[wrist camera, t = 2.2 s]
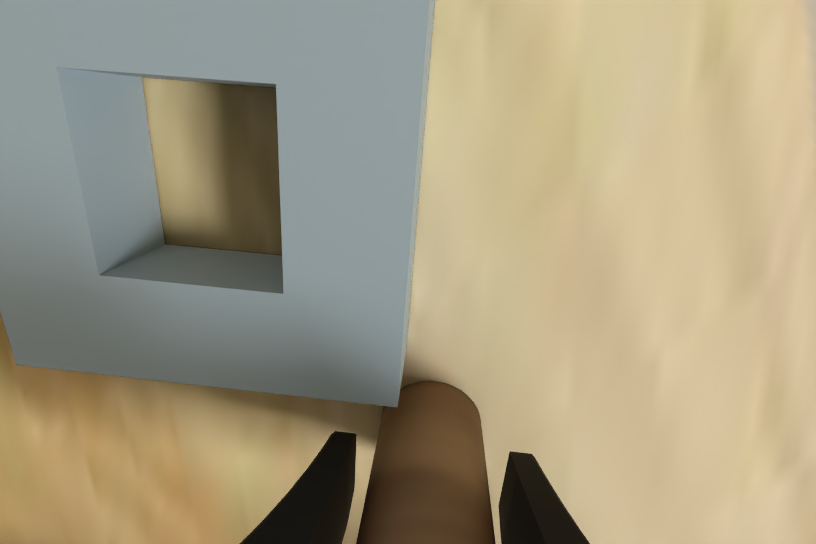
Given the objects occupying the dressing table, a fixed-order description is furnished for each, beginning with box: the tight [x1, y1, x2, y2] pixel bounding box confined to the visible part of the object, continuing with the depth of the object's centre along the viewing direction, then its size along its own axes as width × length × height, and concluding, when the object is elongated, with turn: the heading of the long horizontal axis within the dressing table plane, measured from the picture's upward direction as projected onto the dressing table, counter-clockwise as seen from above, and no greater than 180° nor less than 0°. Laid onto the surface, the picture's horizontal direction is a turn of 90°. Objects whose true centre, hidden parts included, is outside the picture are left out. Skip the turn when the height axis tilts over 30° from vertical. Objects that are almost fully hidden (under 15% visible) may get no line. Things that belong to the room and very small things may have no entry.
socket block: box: [0, 0, 435, 407], centre depth 10 cm, size 10×10×2 cm
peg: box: [356, 381, 495, 544], centre depth 10 cm, size 3×3×7 cm
